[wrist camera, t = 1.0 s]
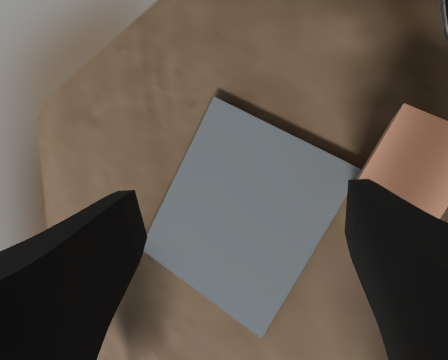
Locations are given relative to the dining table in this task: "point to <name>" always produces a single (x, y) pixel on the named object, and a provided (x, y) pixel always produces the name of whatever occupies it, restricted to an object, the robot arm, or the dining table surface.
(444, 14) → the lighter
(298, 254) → the mat
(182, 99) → the dining table surface
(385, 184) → the block
